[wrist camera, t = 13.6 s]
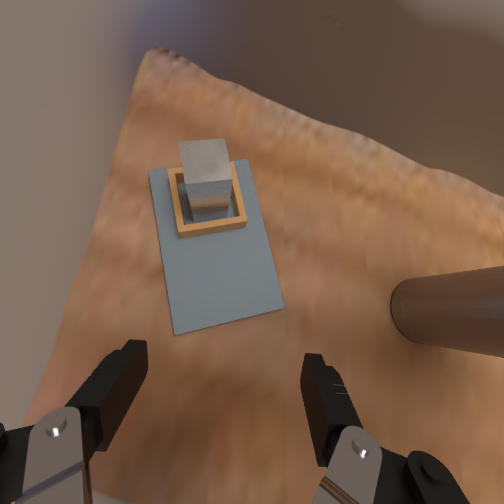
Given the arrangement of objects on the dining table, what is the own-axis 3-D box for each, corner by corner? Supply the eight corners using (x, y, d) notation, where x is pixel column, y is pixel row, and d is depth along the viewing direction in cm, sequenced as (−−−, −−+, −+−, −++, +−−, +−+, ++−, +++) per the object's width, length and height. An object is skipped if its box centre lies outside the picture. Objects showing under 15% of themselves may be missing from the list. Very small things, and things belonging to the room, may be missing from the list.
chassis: (246, 163, 36) (250, 148, 32) (282, 307, 32) (290, 307, 28) (150, 174, 33) (142, 159, 30) (175, 334, 29) (170, 338, 25)
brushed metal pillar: (221, 187, 33) (224, 138, 23) (227, 217, 32) (232, 179, 23) (189, 191, 32) (178, 141, 23) (194, 221, 31) (184, 184, 22)
